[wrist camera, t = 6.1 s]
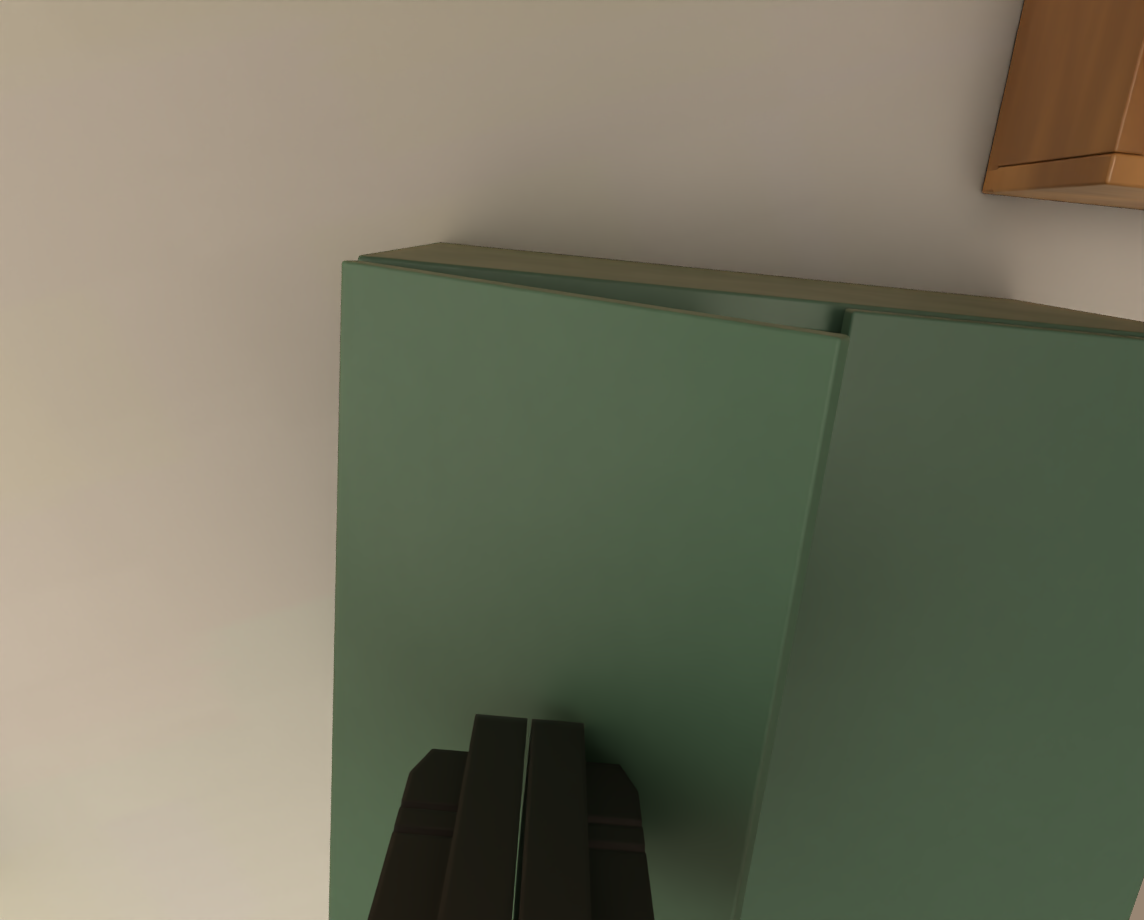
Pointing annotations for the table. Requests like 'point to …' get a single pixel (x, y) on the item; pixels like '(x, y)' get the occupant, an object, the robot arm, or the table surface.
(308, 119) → the table surface
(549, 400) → the flap
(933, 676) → the carton
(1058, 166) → the basket
